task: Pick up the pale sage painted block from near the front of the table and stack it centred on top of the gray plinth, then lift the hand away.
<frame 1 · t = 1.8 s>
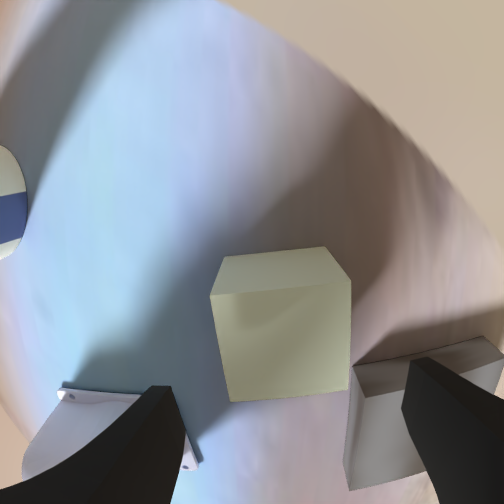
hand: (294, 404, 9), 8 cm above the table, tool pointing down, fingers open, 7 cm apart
gray plinth: (413, 407, 18), on the table
sage block: (279, 297, 16), on the table
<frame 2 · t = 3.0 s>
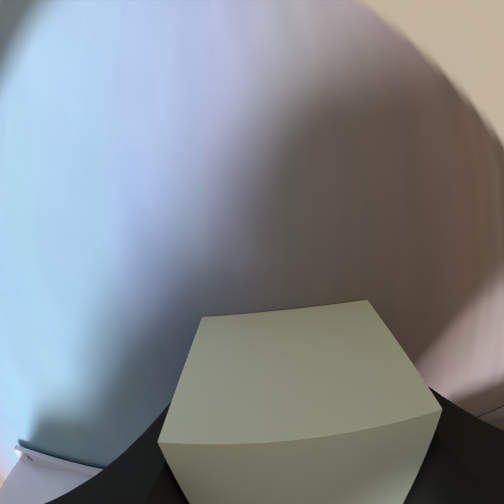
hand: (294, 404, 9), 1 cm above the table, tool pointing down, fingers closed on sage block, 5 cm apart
gray plinth: (448, 473, 12), on the table
sage block: (290, 376, 10), on the table, touching gripper
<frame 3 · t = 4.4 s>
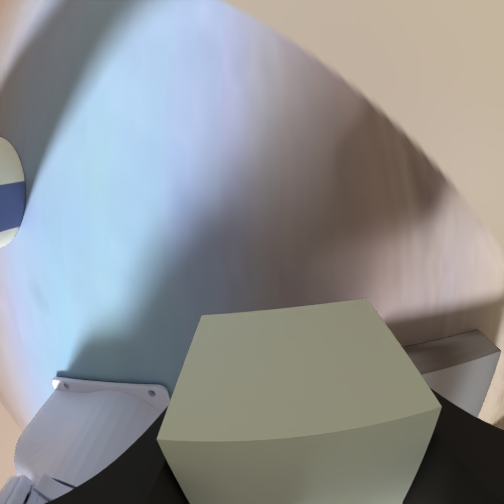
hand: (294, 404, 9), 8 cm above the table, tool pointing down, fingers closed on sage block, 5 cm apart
gray plinth: (407, 401, 19), on the table
sage block: (290, 374, 10), point 7 cm above the table, touching gripper
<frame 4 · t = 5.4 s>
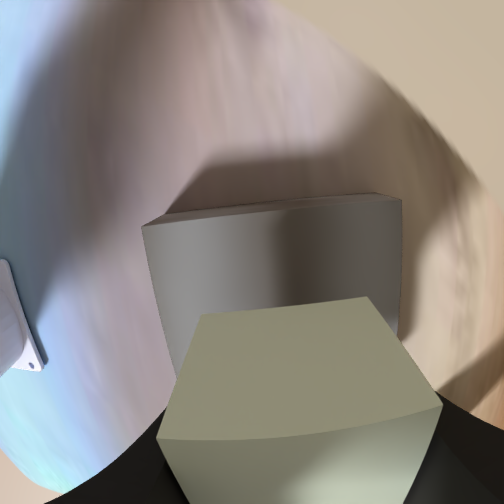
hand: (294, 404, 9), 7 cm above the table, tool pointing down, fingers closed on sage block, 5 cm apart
gray plinth: (280, 303, 16), on the table
sage block: (290, 373, 10), point 6 cm above the table, touching gripper
when the fingers open (6 cm above the table, at t = 6.1 s): sage block drops 1 cm, resting on gray plinth.
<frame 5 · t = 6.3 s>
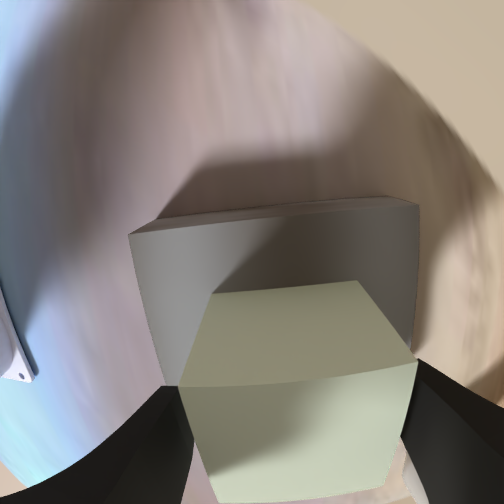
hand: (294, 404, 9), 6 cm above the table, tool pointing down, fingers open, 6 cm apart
gray plinth: (282, 316, 14), on the table
salt shaker: (429, 438, 17), on the table
sage block: (289, 350, 11), point 3 cm above the table, touching gray plinth
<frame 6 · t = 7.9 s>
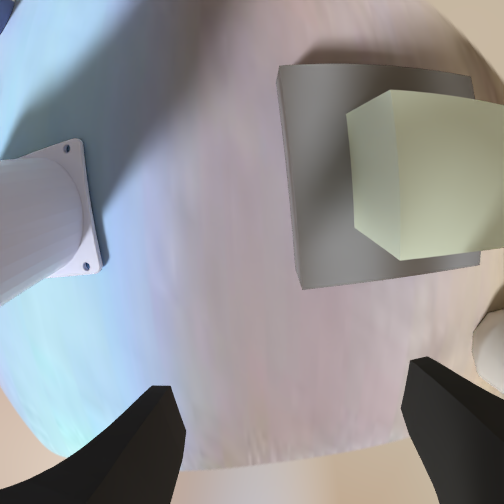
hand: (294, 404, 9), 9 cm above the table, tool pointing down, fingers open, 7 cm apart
gray plinth: (378, 169, 16), on the table
salt shaker: (489, 331, 18), on the table
sage block: (402, 169, 13), point 3 cm above the table, touching gray plinth
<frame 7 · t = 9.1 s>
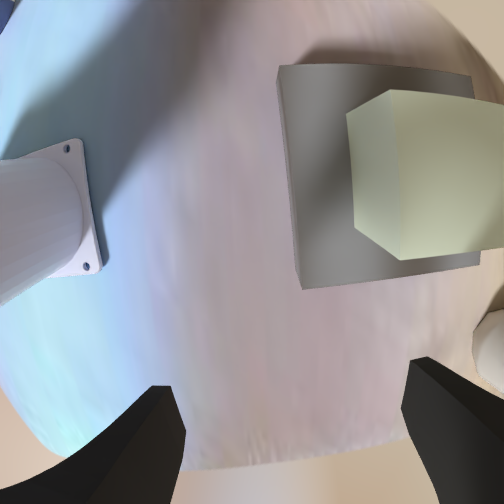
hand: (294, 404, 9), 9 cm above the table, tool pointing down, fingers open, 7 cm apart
gray plinth: (378, 169, 16), on the table
salt shaker: (489, 331, 18), on the table
sage block: (402, 169, 13), point 3 cm above the table, touching gray plinth
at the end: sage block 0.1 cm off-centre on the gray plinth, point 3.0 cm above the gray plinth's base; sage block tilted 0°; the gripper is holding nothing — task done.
